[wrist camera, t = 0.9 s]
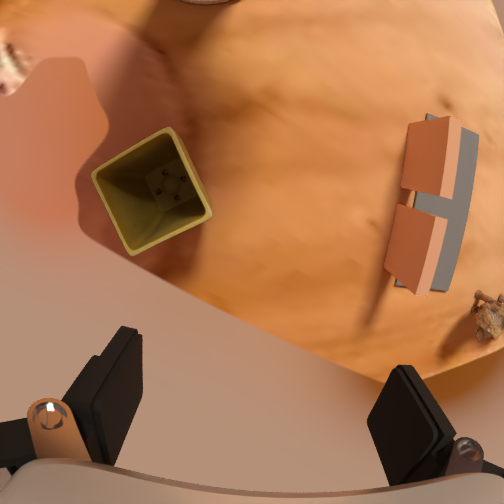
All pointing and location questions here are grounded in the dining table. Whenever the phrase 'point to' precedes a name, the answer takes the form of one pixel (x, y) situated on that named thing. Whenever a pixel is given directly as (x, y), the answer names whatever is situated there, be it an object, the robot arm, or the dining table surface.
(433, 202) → the felt mat
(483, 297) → the lion figurine
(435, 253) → the tile
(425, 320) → the dining table surface
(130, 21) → the dining table surface
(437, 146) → the tile
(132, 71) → the dining table surface
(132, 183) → the flower pot
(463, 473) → the robot arm
